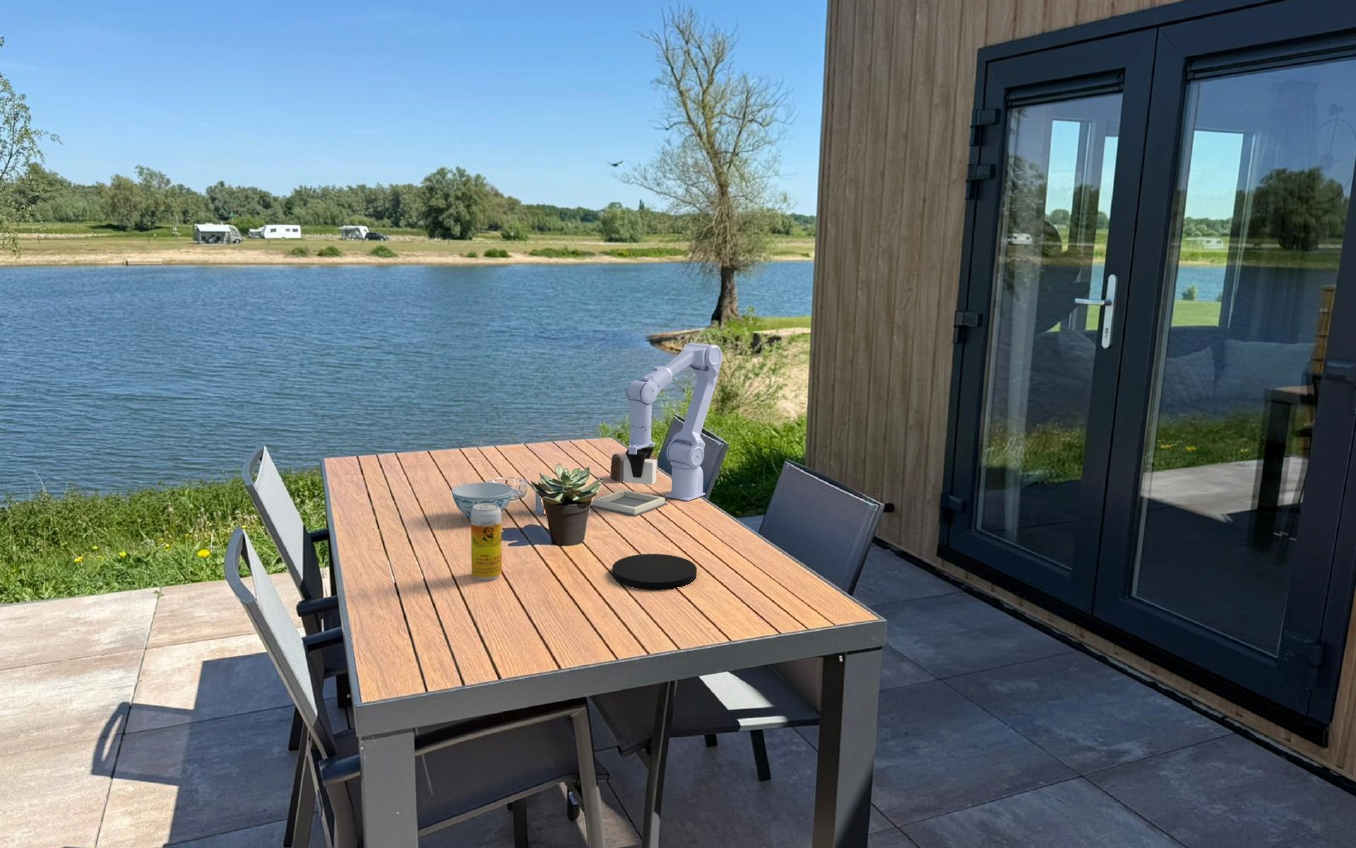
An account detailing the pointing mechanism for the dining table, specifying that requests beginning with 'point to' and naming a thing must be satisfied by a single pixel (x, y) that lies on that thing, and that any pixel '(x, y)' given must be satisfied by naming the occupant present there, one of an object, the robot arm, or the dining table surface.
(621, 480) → the food item
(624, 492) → the shallow square tray
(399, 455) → the dining table surface
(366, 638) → the dining table surface
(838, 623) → the dining table surface
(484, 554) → the beer can
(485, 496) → the chinaware
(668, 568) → the wireless charger
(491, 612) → the dining table surface
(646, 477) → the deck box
